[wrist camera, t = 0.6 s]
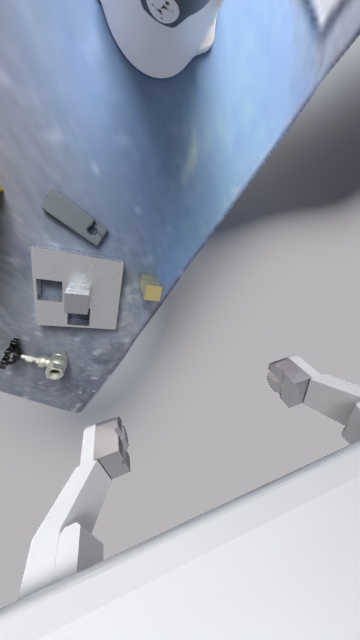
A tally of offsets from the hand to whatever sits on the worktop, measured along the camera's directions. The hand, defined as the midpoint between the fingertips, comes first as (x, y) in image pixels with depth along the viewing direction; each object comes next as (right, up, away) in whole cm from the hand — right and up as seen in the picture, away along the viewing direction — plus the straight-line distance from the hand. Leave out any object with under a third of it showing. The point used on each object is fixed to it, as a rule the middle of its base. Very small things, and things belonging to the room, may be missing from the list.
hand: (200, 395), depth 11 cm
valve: (-34, -4, +39) cm, 52 cm away
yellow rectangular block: (-9, +13, +38) cm, 41 cm away
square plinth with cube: (-23, +11, +34) cm, 42 cm away
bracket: (-21, +23, +29) cm, 42 cm away
